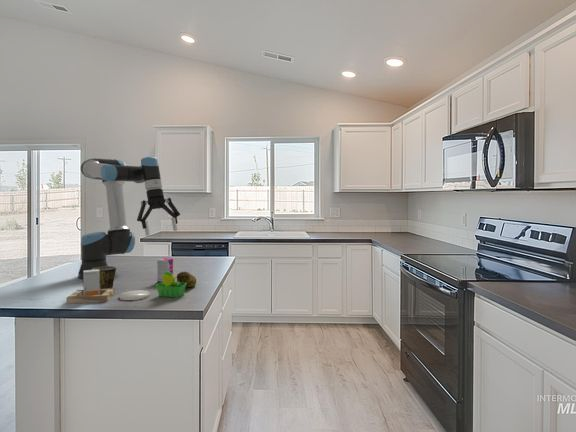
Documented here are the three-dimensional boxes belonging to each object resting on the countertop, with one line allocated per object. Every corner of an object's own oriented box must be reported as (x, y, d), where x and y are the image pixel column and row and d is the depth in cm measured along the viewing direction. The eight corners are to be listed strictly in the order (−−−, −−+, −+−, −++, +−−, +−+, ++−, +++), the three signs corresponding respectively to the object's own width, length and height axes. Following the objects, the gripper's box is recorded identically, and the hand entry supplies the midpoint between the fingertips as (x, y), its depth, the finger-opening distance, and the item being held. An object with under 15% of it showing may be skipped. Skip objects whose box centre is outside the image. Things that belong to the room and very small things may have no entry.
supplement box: (167, 283, 183) (167, 260, 182) (156, 282, 184) (156, 259, 183) (173, 280, 188) (173, 258, 188) (163, 279, 190) (162, 257, 189)
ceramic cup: (94, 287, 173) (93, 266, 172) (117, 286, 177) (116, 265, 176) (90, 294, 161) (89, 272, 160) (115, 292, 164) (115, 270, 164)
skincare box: (83, 300, 151) (82, 272, 151) (83, 298, 155) (83, 270, 155) (100, 299, 154) (99, 270, 154) (100, 296, 158) (99, 269, 157)
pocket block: (77, 295, 159) (77, 289, 159) (114, 294, 162) (114, 288, 162) (66, 303, 147) (66, 297, 147) (106, 301, 150) (106, 295, 150)
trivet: (123, 293, 163) (123, 291, 163) (151, 292, 165) (151, 289, 165) (116, 301, 151) (115, 298, 151) (146, 299, 153) (146, 297, 153)
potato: (203, 285, 178) (203, 269, 178) (184, 291, 167) (183, 274, 167) (190, 283, 182) (190, 267, 182) (171, 289, 171) (170, 272, 171)
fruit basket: (187, 294, 163) (187, 268, 162) (177, 299, 154) (177, 272, 154) (164, 292, 165) (164, 267, 165) (153, 297, 157) (152, 271, 156)
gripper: (130, 190, 165) (138, 236, 164) (181, 186, 181) (189, 228, 181) (124, 193, 170) (132, 238, 170) (175, 188, 187) (183, 230, 187)
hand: (162, 233), depth 176 cm, fingers open, 13 cm apart
